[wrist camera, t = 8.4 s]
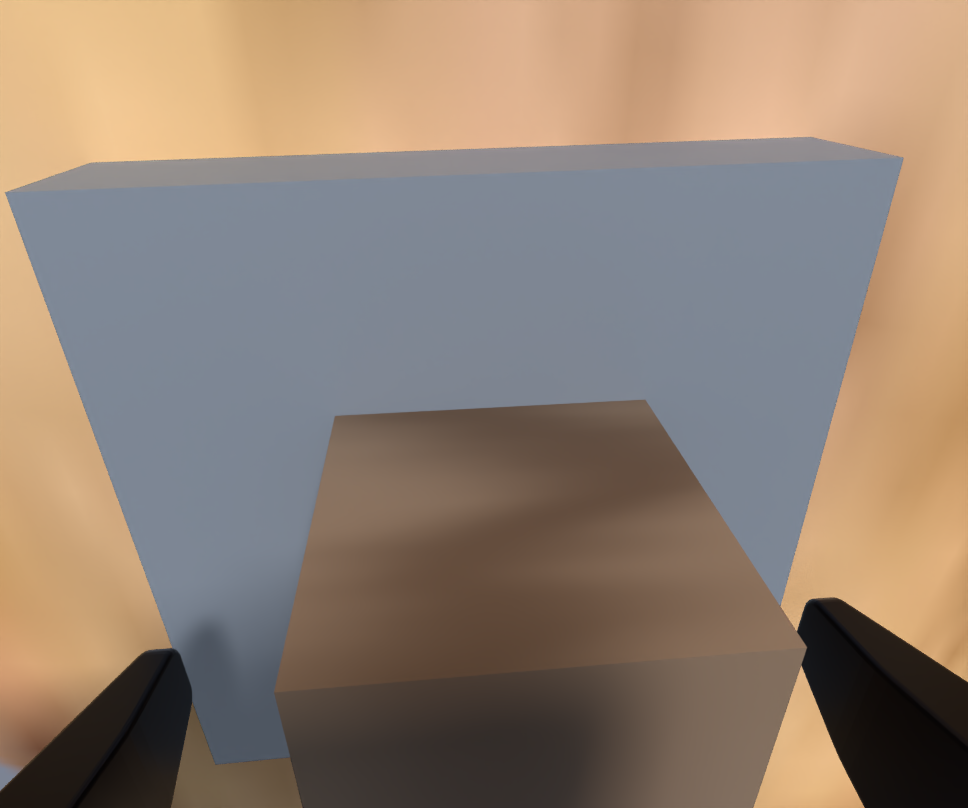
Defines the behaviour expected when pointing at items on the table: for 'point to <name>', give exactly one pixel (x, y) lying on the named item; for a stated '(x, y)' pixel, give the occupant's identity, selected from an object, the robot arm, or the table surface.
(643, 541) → the walnut cube
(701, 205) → the slate block
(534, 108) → the table surface
